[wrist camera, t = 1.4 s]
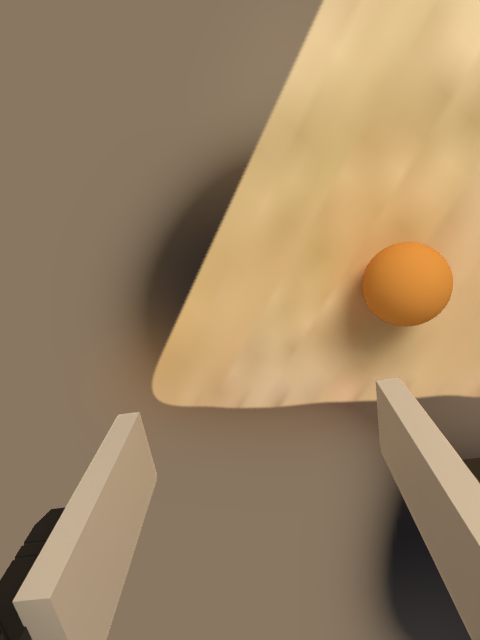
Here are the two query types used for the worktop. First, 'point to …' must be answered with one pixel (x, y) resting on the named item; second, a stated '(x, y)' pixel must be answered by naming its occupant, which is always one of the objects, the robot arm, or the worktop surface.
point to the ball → (407, 284)
